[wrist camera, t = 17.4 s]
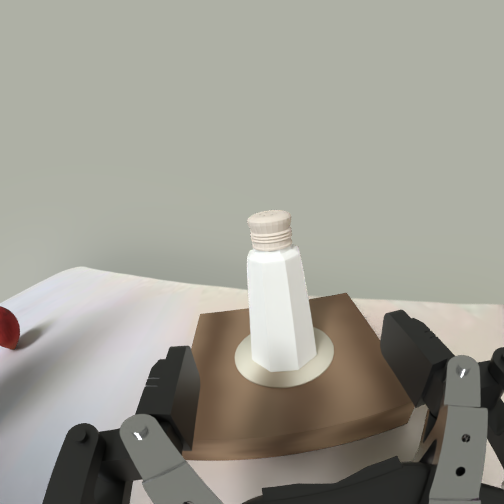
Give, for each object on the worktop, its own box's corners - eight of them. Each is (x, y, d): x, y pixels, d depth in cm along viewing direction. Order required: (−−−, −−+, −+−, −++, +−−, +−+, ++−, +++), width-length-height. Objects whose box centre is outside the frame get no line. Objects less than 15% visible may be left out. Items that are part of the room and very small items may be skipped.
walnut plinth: (185, 459, 14) (169, 437, 13) (206, 336, 30) (199, 312, 29) (407, 423, 14) (418, 396, 13) (346, 315, 29) (346, 291, 28)
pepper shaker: (330, 358, 19) (327, 212, 15) (263, 383, 18) (238, 230, 14) (300, 324, 24) (289, 202, 20) (243, 342, 23) (219, 215, 19)
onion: (19, 336, 31) (0, 293, 28) (32, 342, 29) (11, 295, 27) (-3, 353, 25) (-24, 309, 23) (9, 362, 24) (-16, 313, 21)
